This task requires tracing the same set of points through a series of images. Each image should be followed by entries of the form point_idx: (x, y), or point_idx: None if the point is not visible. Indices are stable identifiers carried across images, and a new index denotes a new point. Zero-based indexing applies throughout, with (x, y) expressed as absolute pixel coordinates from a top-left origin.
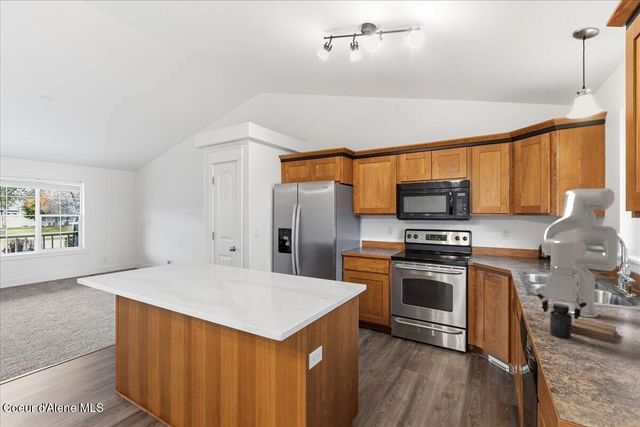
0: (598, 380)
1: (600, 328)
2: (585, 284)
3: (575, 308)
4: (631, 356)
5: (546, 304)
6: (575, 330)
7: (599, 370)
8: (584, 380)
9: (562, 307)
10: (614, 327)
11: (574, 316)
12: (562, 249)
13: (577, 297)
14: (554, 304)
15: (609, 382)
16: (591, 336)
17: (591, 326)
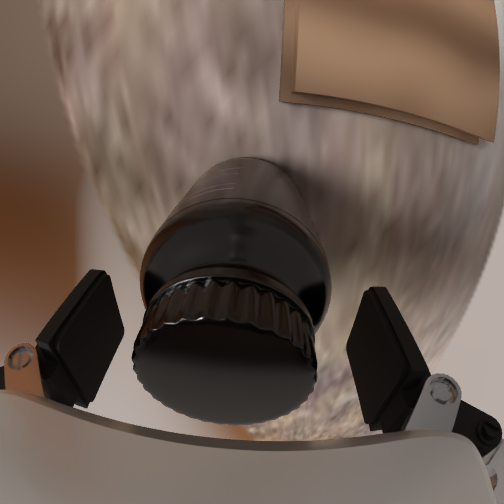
0: (347, 432)
1: (455, 43)
2: None
3: (374, 427)
4: (483, 256)
5: (92, 375)
6: (321, 96)
7: (360, 407)
8: None
9: (251, 420)
10: None
11: (350, 360)
12: None
13: (486, 475)
14: (151, 390)
15: (364, 427)
16: (400, 120)
17: (414, 26)
